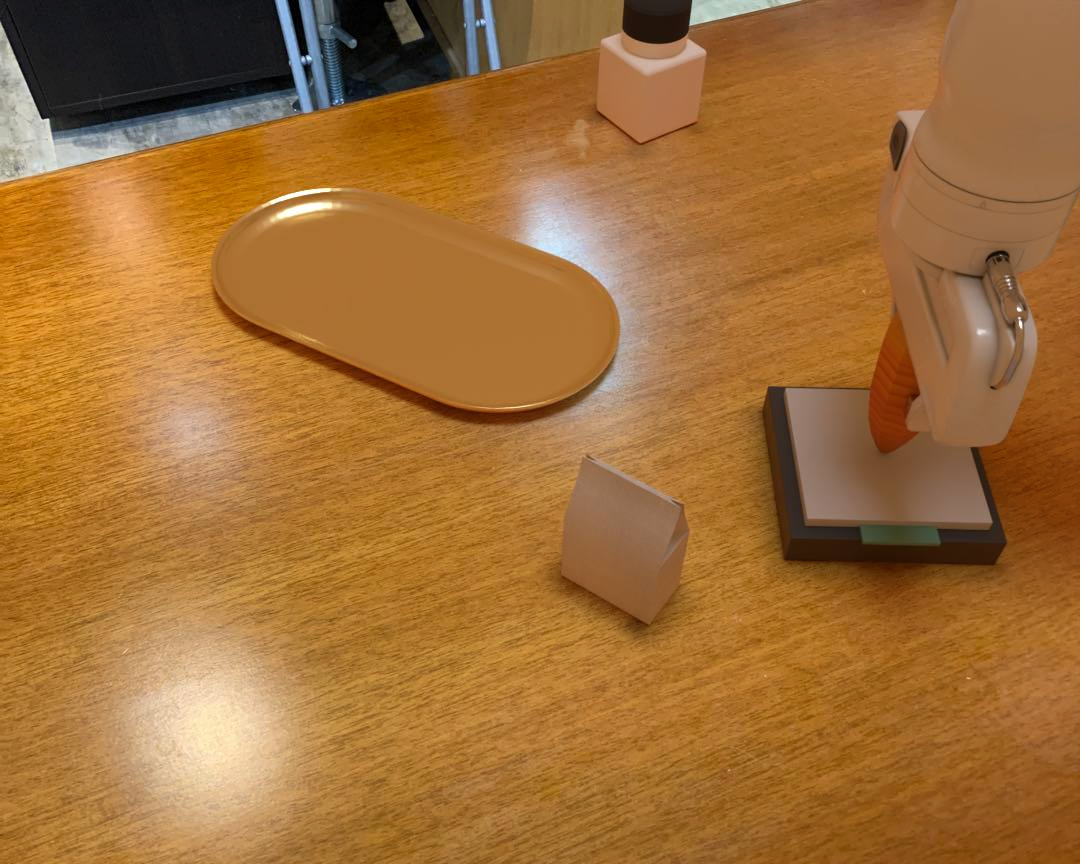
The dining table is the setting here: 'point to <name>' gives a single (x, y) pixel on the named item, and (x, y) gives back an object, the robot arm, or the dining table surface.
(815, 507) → the kitchen scale
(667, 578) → the brown paper bag
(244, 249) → the serving platter
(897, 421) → the carrot
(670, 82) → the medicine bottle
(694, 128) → the dining table surface
